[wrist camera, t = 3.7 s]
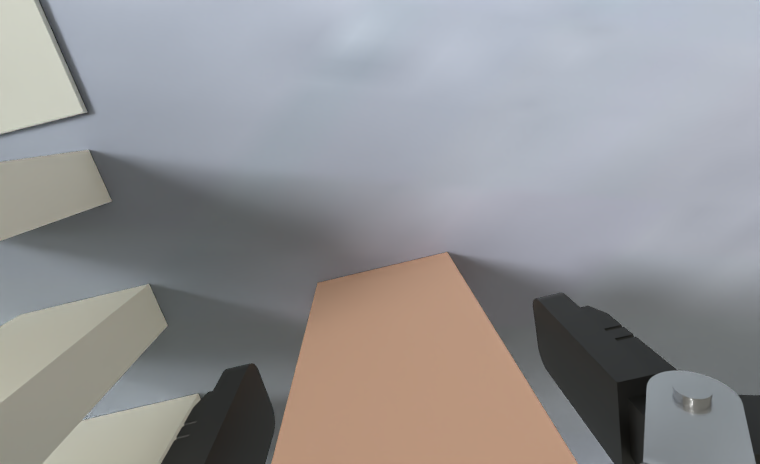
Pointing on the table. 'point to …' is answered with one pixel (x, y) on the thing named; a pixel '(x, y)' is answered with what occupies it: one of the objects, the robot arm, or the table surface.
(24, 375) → the domino
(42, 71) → the block
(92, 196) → the domino
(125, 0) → the table surface
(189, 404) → the domino
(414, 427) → the domino
